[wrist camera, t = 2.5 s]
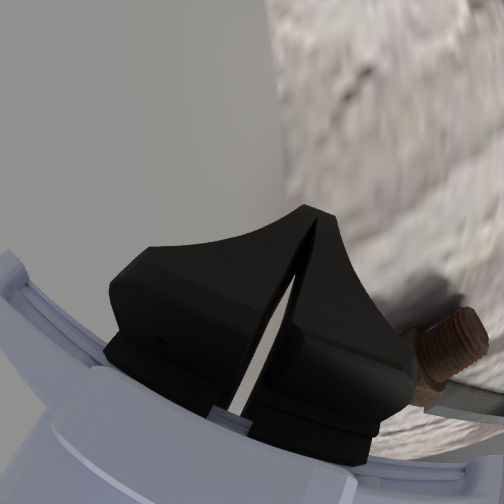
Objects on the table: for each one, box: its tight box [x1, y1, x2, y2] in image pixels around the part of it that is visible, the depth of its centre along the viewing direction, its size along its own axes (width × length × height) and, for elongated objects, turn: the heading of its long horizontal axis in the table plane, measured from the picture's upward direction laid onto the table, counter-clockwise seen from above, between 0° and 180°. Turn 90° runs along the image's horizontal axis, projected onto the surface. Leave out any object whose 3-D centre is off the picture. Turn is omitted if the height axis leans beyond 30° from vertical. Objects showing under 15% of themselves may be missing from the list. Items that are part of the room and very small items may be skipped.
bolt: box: [400, 306, 489, 407], centre depth 15 cm, size 6×5×15 cm
